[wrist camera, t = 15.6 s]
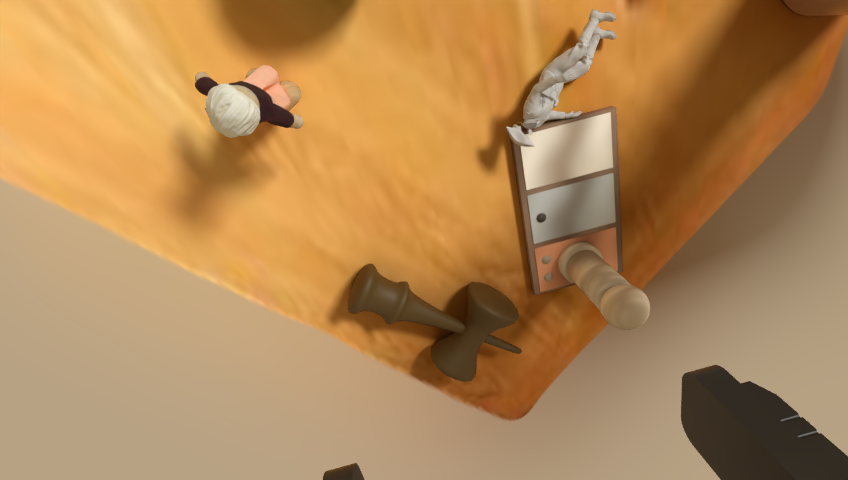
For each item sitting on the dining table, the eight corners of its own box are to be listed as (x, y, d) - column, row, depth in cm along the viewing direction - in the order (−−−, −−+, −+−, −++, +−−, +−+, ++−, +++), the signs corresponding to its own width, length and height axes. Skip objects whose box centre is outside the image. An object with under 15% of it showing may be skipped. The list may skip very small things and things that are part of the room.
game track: (611, 106, 43) (617, 107, 42) (619, 268, 51) (623, 272, 50) (509, 132, 43) (512, 134, 42) (532, 291, 51) (535, 296, 50)
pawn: (595, 236, 48) (661, 290, 38) (598, 271, 50) (663, 332, 39) (555, 248, 48) (611, 306, 37) (560, 283, 49) (614, 347, 39)
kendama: (375, 232, 46) (536, 303, 51) (336, 306, 49) (492, 365, 55) (375, 260, 41) (555, 335, 46) (331, 340, 44) (505, 402, 49)
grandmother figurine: (315, 77, 39) (298, 96, 27) (308, 122, 40) (288, 158, 29) (219, 51, 37) (158, 60, 25) (215, 99, 38) (155, 128, 27)
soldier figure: (617, 55, 42) (560, 171, 42) (567, 44, 44) (513, 155, 44) (617, -1, 35) (549, 139, 35) (558, -12, 37) (493, 121, 37)
